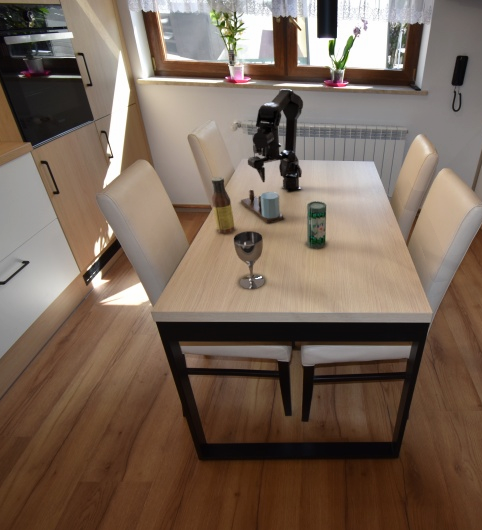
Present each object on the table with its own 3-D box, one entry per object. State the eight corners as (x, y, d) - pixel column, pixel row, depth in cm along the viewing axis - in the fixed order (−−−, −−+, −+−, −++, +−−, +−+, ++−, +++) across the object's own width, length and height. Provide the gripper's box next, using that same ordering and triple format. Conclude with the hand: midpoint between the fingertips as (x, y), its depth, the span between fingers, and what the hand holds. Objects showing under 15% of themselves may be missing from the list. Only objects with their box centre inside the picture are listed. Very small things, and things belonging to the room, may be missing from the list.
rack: (256, 199, 168) (254, 185, 164) (283, 219, 152) (282, 203, 149) (241, 203, 164) (239, 188, 160) (267, 223, 149) (266, 208, 145)
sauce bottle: (238, 228, 144) (232, 177, 134) (227, 235, 139) (220, 183, 129) (224, 225, 146) (217, 174, 136) (213, 231, 142) (205, 179, 131)
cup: (274, 209, 156) (273, 190, 152) (283, 215, 152) (282, 196, 147) (258, 213, 153) (257, 194, 148) (267, 219, 148) (266, 200, 144)
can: (312, 250, 133) (312, 210, 125) (305, 242, 138) (304, 203, 129) (327, 246, 136) (329, 207, 127) (320, 238, 140) (321, 200, 132)
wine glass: (240, 274, 119) (235, 231, 111) (266, 274, 120) (263, 231, 112) (237, 289, 113) (231, 245, 104) (264, 289, 113) (261, 244, 105)
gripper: (281, 132, 157) (283, 169, 166) (239, 139, 148) (243, 178, 157) (296, 139, 150) (297, 177, 159) (253, 146, 141) (256, 187, 149)
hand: (273, 179), depth 156 cm, fingers open, 9 cm apart
